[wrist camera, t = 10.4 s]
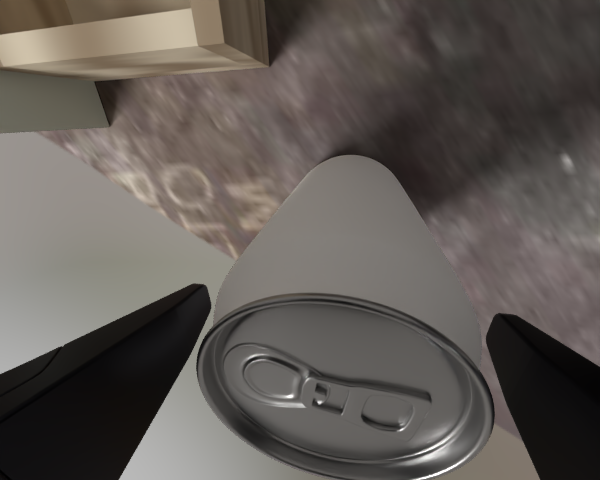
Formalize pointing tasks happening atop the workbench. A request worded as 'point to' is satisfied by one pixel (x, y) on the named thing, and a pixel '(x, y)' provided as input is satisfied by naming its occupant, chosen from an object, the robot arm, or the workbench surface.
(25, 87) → the panel
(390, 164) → the workbench surface
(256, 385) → the can
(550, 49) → the workbench surface
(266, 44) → the wooden drawer box
